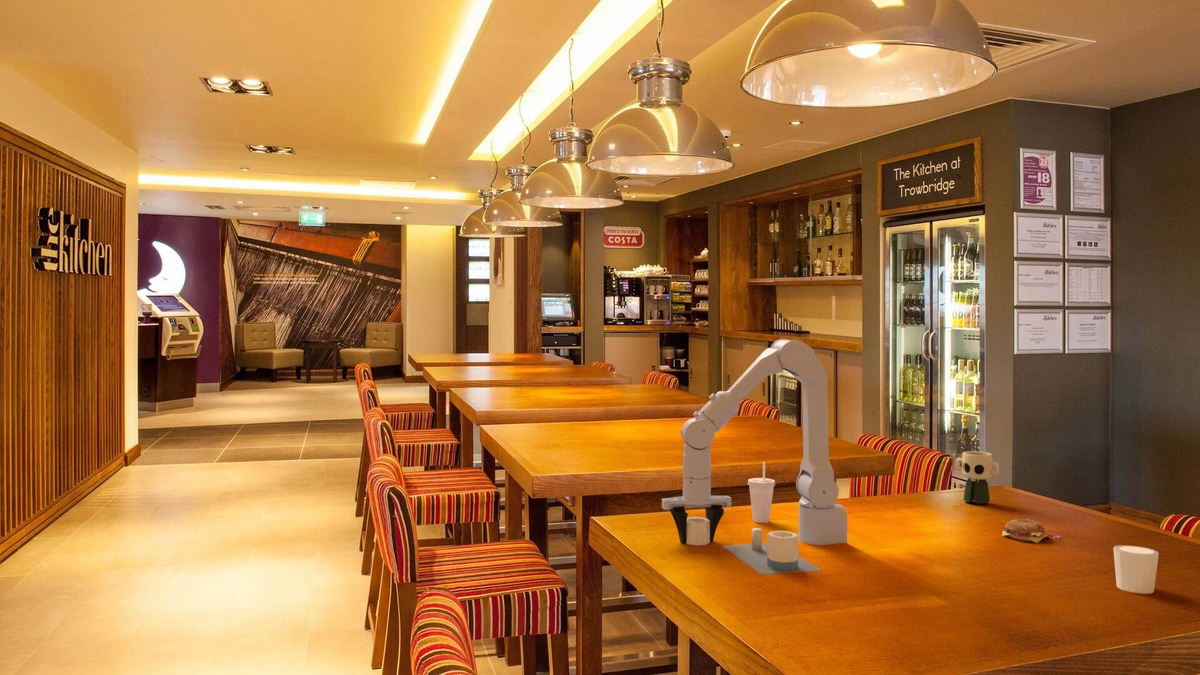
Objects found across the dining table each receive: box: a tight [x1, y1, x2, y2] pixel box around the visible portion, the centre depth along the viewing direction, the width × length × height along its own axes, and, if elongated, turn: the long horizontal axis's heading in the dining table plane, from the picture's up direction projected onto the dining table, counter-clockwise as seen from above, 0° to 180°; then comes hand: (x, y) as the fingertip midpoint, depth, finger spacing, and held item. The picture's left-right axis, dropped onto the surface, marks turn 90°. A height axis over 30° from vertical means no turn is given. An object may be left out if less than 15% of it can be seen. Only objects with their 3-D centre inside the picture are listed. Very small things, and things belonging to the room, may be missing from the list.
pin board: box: [721, 527, 823, 576], centre depth 166 cm, size 12×20×6 cm, turn 13°
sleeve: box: [685, 516, 710, 547], centre depth 178 cm, size 5×5×6 cm
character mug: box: [955, 450, 1000, 505], centre depth 223 cm, size 11×7×13 cm, turn 46°
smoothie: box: [747, 461, 776, 524], centre depth 202 cm, size 6×6×14 cm
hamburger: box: [1001, 518, 1064, 544], centre depth 189 cm, size 14×14×6 cm
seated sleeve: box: [766, 530, 799, 571], centre depth 161 cm, size 5×5×6 cm
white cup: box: [1112, 544, 1160, 595], centre depth 153 cm, size 7×7×7 cm
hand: (696, 542), depth 178 cm, fingers closed on sleeve, 5 cm apart
